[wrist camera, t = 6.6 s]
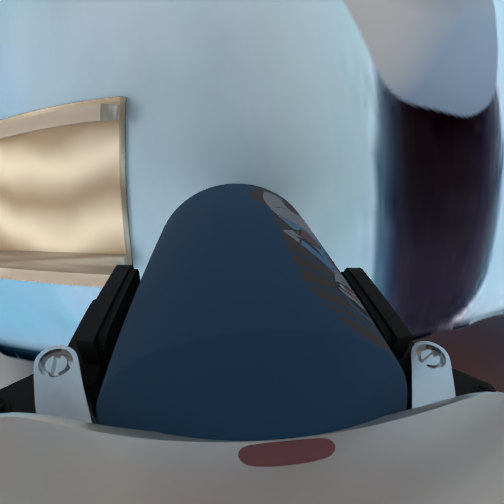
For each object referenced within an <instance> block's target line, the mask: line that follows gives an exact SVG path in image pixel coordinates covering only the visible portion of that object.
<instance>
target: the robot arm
mask: <svg viewBox="0 0 504 504" xmlns="http://www.w3.org/2000/svg"><path fill="white" fill-rule="evenodd" d="M341 274H342V275H343V277H344V278H345V280H346V281H347V283H348V284H349V286H350V287H351V289H352V290H353V292H354V293H355V295H356V296H357V298H358V299H359V301H360V302H361V304H362V305H363V307H364V308H365V310H366V311H367V313H368V314H369V316H370V318H371V319H372V321H373V322H374V324H375V325H376V327H377V329H378V330H379V332H380V333H381V335H382V337H383V338H384V340H385V341H386V343H387V345H388V346H389V348H390V349H391V351H392V353H393V354H394V356H395V358H396V359H397V361H398V363H399V364H400V366H401V368H402V370H403V372H404V374H405V378H406V383H407V410H405V411H401V412H398V413H394V414H390V415H385V416H383V417H380V418H378V419H375V420H372V421H369V422H366V423H363V424H360V425H357V426H353V427H350V428H346V429H342V430H338V431H333V432H329V433H323V434H318V435H312V436H305V437H298V438H289V439H278V440H261V441H226V440H210V439H199V438H191V437H183V436H176V435H169V434H163V433H158V432H153V431H144V430H135V429H127V428H120V427H112V426H106V425H99V424H98V423H97V416H96V405H97V401H98V397H99V393H100V390H101V387H102V384H103V381H104V378H105V375H106V372H107V369H108V366H109V363H110V360H111V357H112V354H113V351H114V348H115V345H116V343H117V340H118V337H119V334H120V332H121V329H122V326H123V324H124V321H125V318H126V316H127V313H128V311H129V308H130V306H131V303H132V301H133V298H134V296H135V293H136V291H137V288H138V286H139V283H140V276H139V271H138V269H134V267H133V265H116V267H115V268H114V270H113V272H112V273H111V275H110V277H109V278H108V280H107V282H106V283H105V285H104V287H103V288H102V290H101V292H100V294H99V295H98V297H97V299H95V300H93V301H92V303H91V304H90V306H89V308H88V310H87V311H86V313H85V315H84V317H83V319H82V320H81V322H80V324H79V326H78V328H77V330H76V331H75V333H74V335H73V337H72V339H71V341H70V343H69V345H68V346H64V345H56V346H52V347H49V348H47V349H45V350H43V351H42V352H41V353H40V354H39V355H38V356H37V358H36V359H35V361H34V374H32V375H30V376H28V377H26V378H24V379H21V380H19V381H17V382H15V383H13V384H11V385H9V386H7V387H4V388H2V389H0V504H504V393H501V392H497V391H496V390H495V389H494V387H493V386H491V385H490V384H488V383H486V382H484V381H481V380H479V379H477V378H474V377H472V376H469V375H467V374H464V373H462V372H460V371H457V370H455V369H452V368H451V362H450V358H449V355H448V354H447V352H446V351H445V350H444V349H443V348H442V347H440V346H439V345H437V344H435V343H432V342H428V341H422V342H418V343H416V344H414V343H413V341H412V340H411V339H412V337H413V335H412V334H411V333H410V331H409V330H408V328H407V327H406V326H405V324H404V323H403V322H402V320H401V319H400V317H399V316H398V315H397V313H396V312H395V311H394V309H393V308H392V307H391V305H390V304H389V303H388V301H387V300H386V299H385V298H384V296H383V295H382V294H381V292H380V291H379V290H378V288H377V287H376V286H375V285H374V283H373V282H372V281H371V280H370V278H369V277H368V276H367V274H366V273H365V272H364V271H363V269H361V268H346V269H345V270H344V272H341ZM312 438H325V439H329V440H331V441H333V442H334V444H335V451H334V453H333V454H332V455H331V456H329V457H327V458H325V459H321V460H317V461H313V462H308V463H301V464H294V465H285V466H275V467H254V466H249V465H246V464H244V463H243V462H241V461H240V459H239V457H238V452H239V451H240V449H241V448H243V447H245V446H248V445H254V444H261V443H270V442H280V441H290V440H300V439H312Z"/></svg>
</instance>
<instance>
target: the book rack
mask: <svg viewBox="0 0 504 504" xmlns="http://www.w3.org/2000/svg"><path fill="white" fill-rule="evenodd" d="M125 109H126V97H121V96H119V97H110V98H103V99H95V100H88V101H82V102H76V103H70V104H65V105H60V106H55V107H50V108H45V109H41V110H36V111H32V112H28V113H24V114H20V115H17V116H13V117H9V118H6V119H3V120H0V278H2V279H11V280H21V281H31V282H42V283H53V284H65V285H78V286H92V287H104V285H105V283H106V282H107V280H108V278H109V277H110V275H111V273H112V272H113V270H114V268H115V267H116V265H133V264H132V256H131V246H130V236H129V225H128V212H127V197H126V175H125Z"/></svg>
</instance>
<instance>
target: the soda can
mask: <svg viewBox="0 0 504 504" xmlns="http://www.w3.org/2000/svg"><path fill="white" fill-rule="evenodd" d="M405 410H407V383H406V378H405V374H404V372H403V370H402V368H401V366H400V364H399V363H398V361H397V359H396V358H395V356H394V354H393V353H392V351H391V349H390V348H389V346H388V345H387V343H386V341H385V340H384V338H383V337H382V335H381V333H380V332H379V330H378V329H377V327H376V325H375V324H374V322H373V321H372V319H371V318H370V316H369V314H368V313H367V311H366V310H365V308H364V307H363V305H362V304H361V302H360V301H359V299H358V298H357V296H356V295H355V293H354V292H353V290H352V289H351V287H350V286H349V284H348V283H347V281H346V280H345V278H344V277H343V275H342V274H341V272H340V271H339V270H338V268H337V267H336V265H335V264H334V262H333V261H332V259H331V258H330V257H329V255H328V254H327V252H326V251H325V249H324V248H323V247H322V245H321V244H320V242H319V241H318V240H317V238H316V237H315V235H314V234H313V233H312V231H311V230H310V228H309V227H308V226H307V224H306V223H305V222H304V220H303V219H302V217H301V216H300V215H299V213H298V212H297V211H296V210H295V209H294V208H293V206H292V205H291V204H289V203H288V202H287V201H286V200H285V199H283V198H282V197H280V196H279V195H277V194H275V193H273V192H271V191H269V190H267V189H264V188H261V187H258V186H253V185H248V184H225V185H219V186H215V187H211V188H208V189H206V190H203V191H201V192H199V193H197V194H195V195H193V196H192V197H190V198H189V199H188V200H186V201H185V202H184V203H183V204H181V205H180V206H179V207H178V208H177V209H176V210H175V212H174V213H173V214H172V215H171V217H170V218H169V220H168V221H167V223H166V225H165V227H164V229H163V231H162V234H161V236H160V238H159V240H158V242H157V244H156V247H155V249H154V251H153V253H152V256H151V258H150V260H149V262H148V265H147V267H146V269H145V272H144V274H143V276H142V279H141V281H140V283H139V286H138V288H137V291H136V293H135V296H134V298H133V301H132V303H131V306H130V308H129V311H128V313H127V316H126V318H125V321H124V324H123V326H122V329H121V332H120V334H119V337H118V340H117V343H116V345H115V348H114V351H113V354H112V357H111V360H110V363H109V366H108V369H107V372H106V375H105V378H104V381H103V384H102V387H101V390H100V393H99V397H98V401H97V405H96V416H97V423H98V424H99V425H106V426H112V427H120V428H127V429H135V430H144V431H153V432H158V433H163V434H169V435H176V436H183V437H191V438H199V439H210V440H226V441H261V440H278V439H289V438H298V437H305V436H312V435H318V434H323V433H329V432H333V431H338V430H342V429H346V428H350V427H353V426H357V425H360V424H363V423H366V422H369V421H372V420H375V419H378V418H380V417H383V416H385V415H390V414H394V413H398V412H401V411H405ZM334 451H335V444H334V442H333V441H331V440H329V439H325V438H312V439H300V440H290V441H280V442H270V443H261V444H254V445H248V446H245V447H243V448H241V449H240V451H239V452H238V457H239V459H240V461H241V462H243V463H244V464H246V465H249V466H254V467H275V466H285V465H294V464H301V463H308V462H313V461H317V460H321V459H325V458H327V457H329V456H331V455H332V454H333V453H334Z"/></svg>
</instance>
